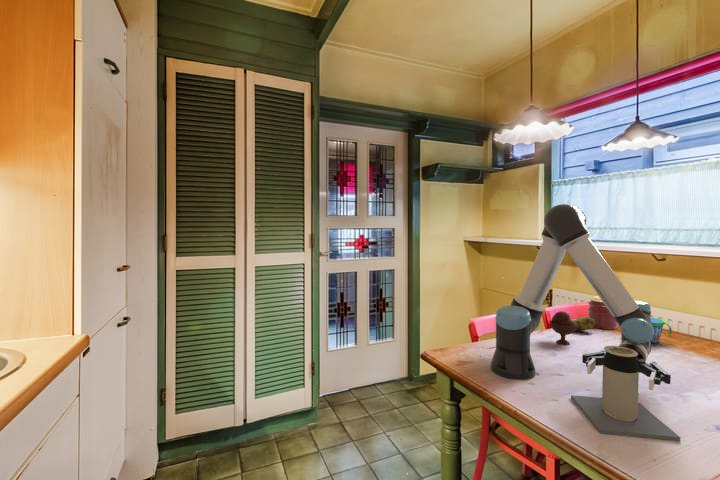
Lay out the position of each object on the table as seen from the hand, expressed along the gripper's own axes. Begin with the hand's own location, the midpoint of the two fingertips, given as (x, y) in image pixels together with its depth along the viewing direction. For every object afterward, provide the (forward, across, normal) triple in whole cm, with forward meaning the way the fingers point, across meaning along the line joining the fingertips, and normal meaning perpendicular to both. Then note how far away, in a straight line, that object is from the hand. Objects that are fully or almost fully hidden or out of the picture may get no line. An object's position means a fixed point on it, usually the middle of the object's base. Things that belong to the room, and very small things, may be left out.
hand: (618, 376), depth 92 cm
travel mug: (-3, 0, -12) cm, 12 cm away
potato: (-84, +28, -13) cm, 89 cm away
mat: (-3, 0, -13) cm, 13 cm away
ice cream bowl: (-59, +29, -13) cm, 67 cm away
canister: (-102, +22, -13) cm, 105 cm away
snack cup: (-90, +2, -13) cm, 91 cm away
